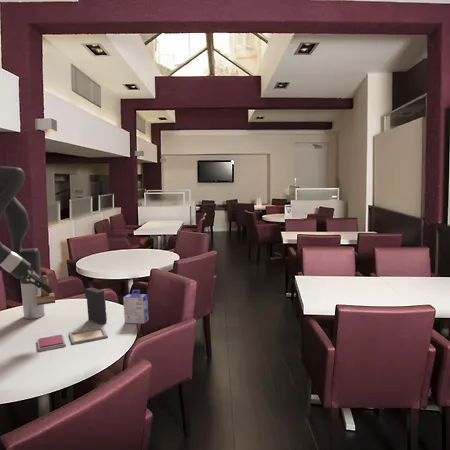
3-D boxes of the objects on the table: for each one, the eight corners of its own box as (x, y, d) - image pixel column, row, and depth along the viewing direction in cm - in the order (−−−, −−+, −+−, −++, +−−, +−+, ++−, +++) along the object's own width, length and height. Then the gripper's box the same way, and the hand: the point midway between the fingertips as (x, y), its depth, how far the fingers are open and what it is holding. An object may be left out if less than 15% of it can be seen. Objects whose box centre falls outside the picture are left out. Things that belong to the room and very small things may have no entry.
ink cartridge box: (149, 319, 199) (147, 289, 197) (144, 324, 194) (143, 292, 192) (129, 319, 201) (127, 288, 199) (124, 323, 196) (122, 292, 194)
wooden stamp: (36, 302, 180) (34, 275, 179) (54, 299, 183) (52, 272, 182) (37, 305, 176) (34, 277, 174) (55, 302, 179) (53, 275, 177)
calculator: (108, 322, 197) (105, 290, 195) (99, 325, 194) (97, 292, 192) (95, 317, 205) (93, 286, 203) (87, 320, 202) (84, 288, 200)
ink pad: (37, 341, 177) (37, 338, 177) (63, 337, 182) (62, 333, 181) (38, 351, 167) (38, 347, 167) (65, 346, 172) (65, 342, 171)
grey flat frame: (69, 334, 184) (68, 332, 184) (102, 328, 190) (102, 326, 190) (72, 344, 173) (72, 342, 173) (107, 337, 179) (107, 335, 179)
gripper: (22, 260, 168) (58, 286, 174) (21, 254, 180) (55, 279, 187) (8, 275, 166) (44, 301, 173) (8, 268, 179) (43, 293, 185)
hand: (50, 290), depth 180 cm, fingers closed on wooden stamp, 3 cm apart
